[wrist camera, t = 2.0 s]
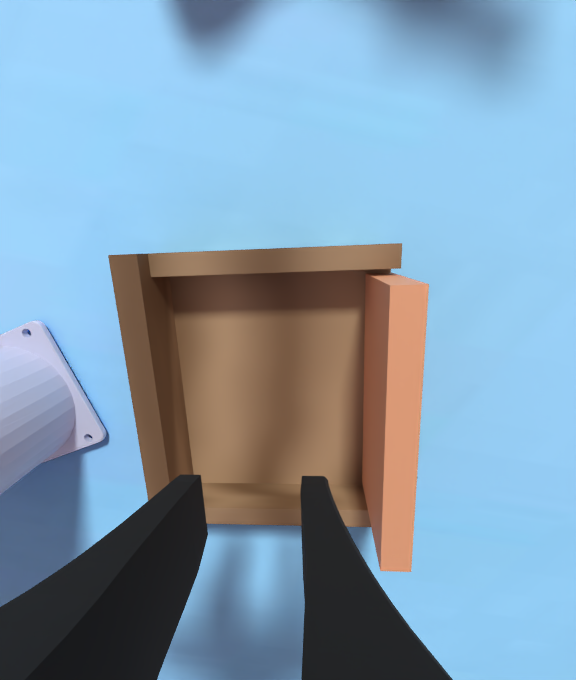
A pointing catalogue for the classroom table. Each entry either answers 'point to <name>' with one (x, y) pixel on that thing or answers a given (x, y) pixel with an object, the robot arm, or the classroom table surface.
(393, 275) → the orange rectangular block
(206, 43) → the classroom table surface
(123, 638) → the robot arm
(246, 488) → the open wooden crate
